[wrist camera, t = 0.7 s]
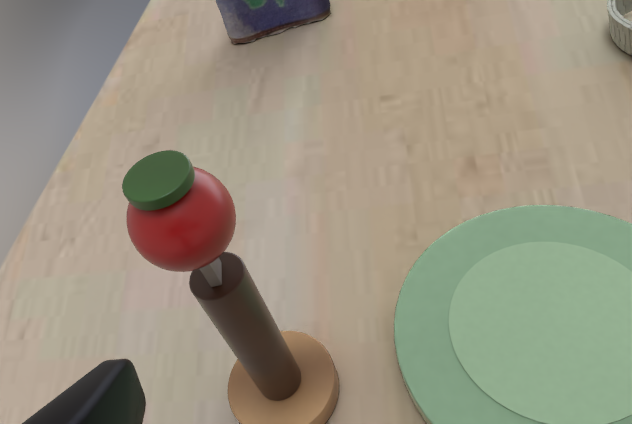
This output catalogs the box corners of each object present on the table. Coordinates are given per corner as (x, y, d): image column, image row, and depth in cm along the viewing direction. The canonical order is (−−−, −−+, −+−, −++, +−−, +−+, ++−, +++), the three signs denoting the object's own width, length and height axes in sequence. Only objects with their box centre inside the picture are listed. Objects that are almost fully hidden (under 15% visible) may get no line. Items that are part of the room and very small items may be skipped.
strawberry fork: (347, 432, 24) (246, 218, 13) (237, 456, 24) (53, 266, 14) (330, 332, 27) (238, 99, 17) (234, 354, 28) (85, 140, 17)
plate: (803, 523, 19) (818, 515, 18) (390, 491, 22) (387, 483, 21) (680, 211, 28) (686, 196, 27) (399, 222, 31) (397, 209, 30)
